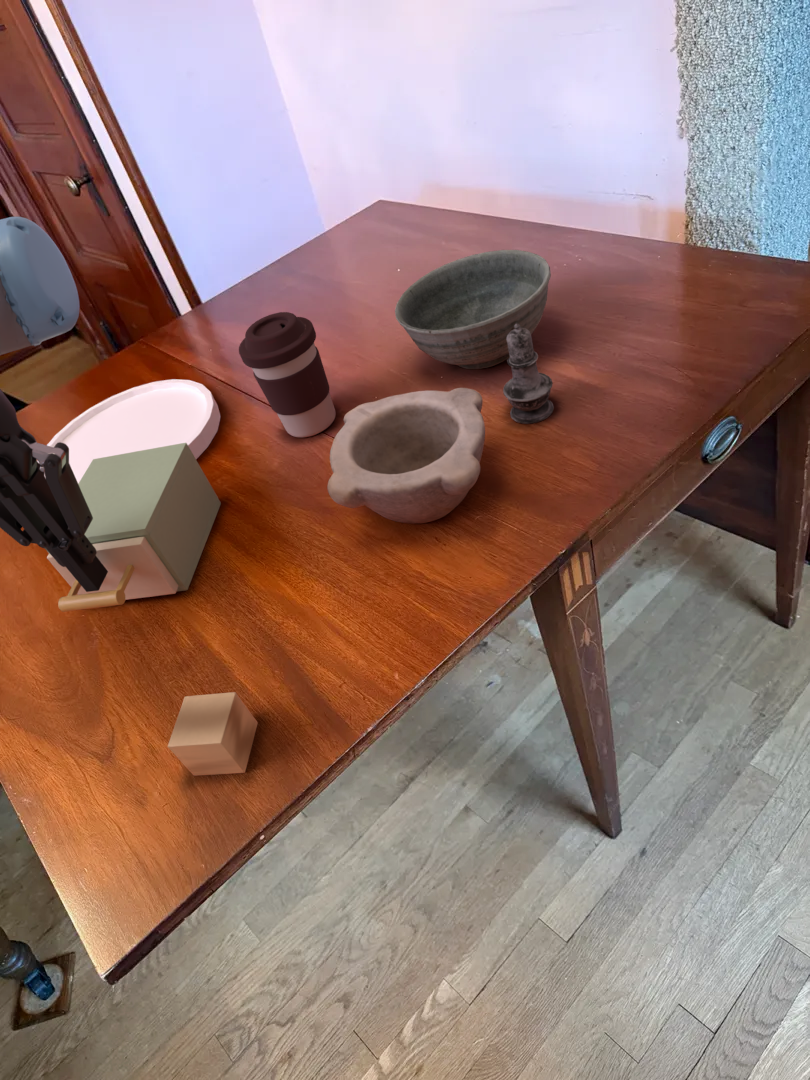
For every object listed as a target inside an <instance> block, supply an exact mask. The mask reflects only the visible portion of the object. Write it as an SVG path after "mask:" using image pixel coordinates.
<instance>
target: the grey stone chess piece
mask: <svg viewBox="0 0 810 1080" xmlns="http://www.w3.org/2000/svg"><path fill="white" fill-rule="evenodd" d="M519 327H520V325H519V324H517V323H516V324H515V326H514V328H515V329H513V330H512V331H510V332H509V334H508V335H507V344H508V350H509V355H510V357H509V358H508V359H506V362H507V365H508V366H509V367H510V369H511V373H512V378H510V379H509V380H508V381H507V382H505V384H504V386H503V389H502V392H503V395H504V397H505V398H506V399H507V401H508V402H509V403H510V405H511V406H512V407H511V409H510V412H509V414H510V418H511V420H512V421H514V422H515V423H518V424H522V425H531V424H532V425H533V424H537V423H540V422H542V421H545V420H546V419H547V418H549V417H550V416H551V415H552V413H554V409H555V405H554V403H553V401H551V400H550V399H549V398H550V395H551V391H552V388H553V384H554V383H553V380H552V377H550V376H549V375H548V374H546V373H543V372H539V369H538V365H537V362H538V359H539V355H538V353H537V352H536V351H535V349H534V344H533V339H532V334H531V333H530V331H529V330H527V329H526V328H519Z"/></svg>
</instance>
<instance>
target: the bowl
mask: <svg viewBox="0 0 810 1080" xmlns="http://www.w3.org/2000/svg"><path fill="white" fill-rule="evenodd" d="M551 276H552V273H551V266H550V265H549V264H548V261H547V260H546V259H545V258H544V257H542V256H541V255H539V254H537V253H534V252H530V251H527V250H520V249H499V250H492V251H491V250H490V251H485V252H480V253H475V254H471V255H467V256H464V257H462V258H458V259H455V260H453V261H450V262H448V263H446V264H443V265H441V266H439V267H436V268H435V269H432V270H431V271H429V272H428V273H426V274H425V275H423V276H421V277H420V278H418V279H417V280H416V281H414V282H413V283H412V284H411V285H409V287H408V288H407V289H406V290H405V291H404V292H403V293H402V294H401V296H400V297H399V299H398V301H397V302H396V305H395V309H394V314H395V320H396V321H397V322H398V324H399V325H400V326H401V327H402V328H403V329H404V331H405V332H406V333H407V335H408V336H409V337H410V339H411V340H412V341H413V343H415V345H416V346H417V348H418V349H419V350H420V351H422V352H423V353H424V354H427V355H428V356H430V357H431V358H432V359H434V360H436V361H439V362H441V363H445V364H449V365H456V366H459V368H463V369H467V370H482V369H486V368H490V367H493V366H496V365H499V364H501V363H503V362H504V361H507V360H508V358H509V357H510V355H509V350H508V344H507V335H508V334H509V332H510V331H512V330H513V329H515V328H514V326H515V324H516V323H517V324H519V325H520V327H519V328H526V329H527V330H529V331H530V333H531V335H532V334H534V332H535V330H536V328H538V325H539V324H540V322H541V320H542V318H543V314H544V311H545V308H546V305H547V301H548V293H549V283H550V280H551Z"/></svg>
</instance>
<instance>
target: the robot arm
mask: <svg viewBox="0 0 810 1080" xmlns="http://www.w3.org/2000/svg"><path fill="white" fill-rule="evenodd" d="M80 307H81V306H80V297H79V293H78V288H77V285H76V282H75V280H74V277H73V274H72V271H71V270H70V268H69V265H68V263H67V261H66V259H65V257H64V255H63V254H62V252H61V250H60V249H59V247H58V246H57V245H56V243H55V241H53V238H51V237H50V235H49V234H48V233H47V232H46V231H45V230H44V229H43V228H42V227H41V226H40V225H38V224H37V223H36V222H34V221H33V220H30V219H29V218H27V217H22V216H9V217H5V218H1V219H0V356H2V355H6V354H8V353H13V352H15V351H16V352H17V351H19V350H22V349H26V348H28V347H32V346H33V347H37V346H39V345H41V344H42V342H45V341H47V340H51V339H52V338H55V337H58V336H61V335H64V334H65V333H67V332H69V331H72V329H73V328H74V327H75V326H76V324H77V322H78V320H79V316H80ZM37 460H38V462H39V463H38V462H37ZM44 472H45V476H44ZM45 477H46V478H45ZM92 520H93V517H92V514H91V512H90V510H89V507H88V505H87V503H86V501H85V498H84V496H83V494H82V491H81V489H80V487H79V485H78V482H77V480H76V478H75V476H74V473H73V471H72V469H71V466H70V464H69V447H68V446H67V445H66V444H64V443H61V442H59V443H57V444H56V445H55V446H54V447H50V446H47V444H43V443H39V442H37V439H36V437H35V436H34V435H33V434H32V433H30V432H28V431H27V430H26V429H24V428H23V426H21V425H20V423H19V421H18V416H17V412H16V408H15V407H14V405H13V404H12V403H11V401H10V400H9V398H8V397H7V395H6V394H5V393H4V392H3V390H2V389H1V388H0V529H1V530H2V531H4V533H6V534H7V535H8V536H9V537H11V539H13V540H14V541H15V542H17V543H18V544H19V545H20V546H23V547H29V546H30V545H31V544H34V545H35V544H36V545H37V546H38V547H39V548H41V549H45V548H46V549H47V550H46V549H45V550H46V552H47V551H48V552H49V553H50V554H51V555H52V557H54V559H55V560H56V561H57V563H58V564H59V565H61V566H62V567H66V568H67V569H68V570H69V572H70V573H71V574H72V575H73V576H74V578H75V579H76V580H77V581H78V582H79V584H80V585H81V586H82V587H83V588H84V590H85V591H86V592H91V591H98V590H99V589H100V587H101V585H102V583H103V581H104V579H105V577H106V575H107V573H108V571H107V569H106V568H105V567H104V566H103V564H102V563H101V562H100V560H99V559H98V558H97V557H96V554H97V552H96V549H95V548H94V546H93V545H92V544H91V543H90V541H89V540H88V538H87V537H86V536H85V535H84V534H85V533H86V531H87V529H88V527H89V525H90V523H91V522H92ZM22 529H23V530H22ZM48 552H47V553H48ZM49 553H48V554H49Z"/></svg>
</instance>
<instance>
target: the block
mask: <svg viewBox="0 0 810 1080" xmlns="http://www.w3.org/2000/svg"><path fill="white" fill-rule="evenodd" d="M174 723H175V724H174V727H173V729H172V732H171V734H170V735H171V736H170V738H169V741H168V744H167V748H168V749H169V750H170V751H171V752H172V754H173V755H174V756H175V757H176V758H177V759H178V760H179V761H180V762H181V763H182V764H183V766H184V767H185V768H186V769H187V770H188V772H189V773H191V774H192V776H194V777H196V776H213V775H214V776H215V775H229V774H231V775H232V774H245V773H246V771H247V767H248V763H249V760H250V755H251V751H252V748H253V743H254V740H255V735H256V732H257V728H258V721H257V720H256V718H255V717H254V715H253V714H252V712H251V711H250V709H249V708H248V707H247V706H246V704H245V702H243V700H242V698H241V697H240V696H239V694H238V693H237V692H236V691H232V692H231V691H230V692H218V693H207V694H197V695H195V694H194V695H185V696H184V698H183V700H182V704H181V706H180V708H179V712H178V715H177V717H176V720H175V722H174Z"/></svg>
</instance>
